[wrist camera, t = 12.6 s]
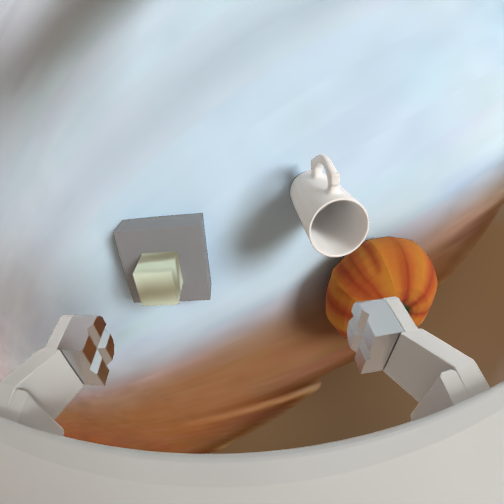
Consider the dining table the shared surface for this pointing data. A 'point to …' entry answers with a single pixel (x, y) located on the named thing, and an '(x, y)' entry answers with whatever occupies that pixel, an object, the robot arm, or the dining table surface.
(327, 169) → the mug
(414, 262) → the pumpkin
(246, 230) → the dining table surface
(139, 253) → the riser block
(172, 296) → the cube
